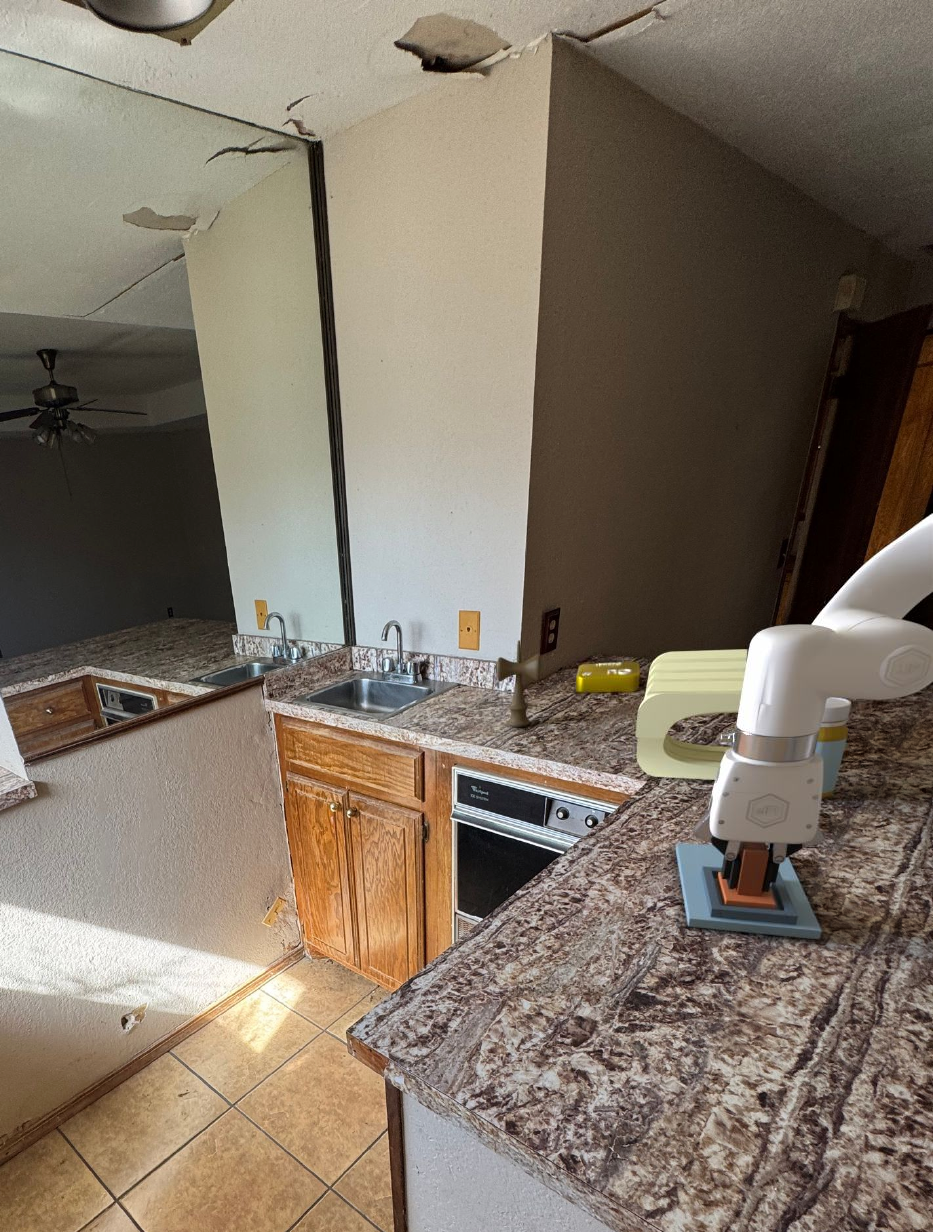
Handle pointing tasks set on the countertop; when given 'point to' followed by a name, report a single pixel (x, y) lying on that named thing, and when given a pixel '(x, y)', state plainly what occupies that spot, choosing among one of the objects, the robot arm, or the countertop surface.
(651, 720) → the slatted curved stool
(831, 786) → the bottle
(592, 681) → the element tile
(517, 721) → the kendama
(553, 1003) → the countertop surface
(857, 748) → the countertop surface
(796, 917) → the back board
